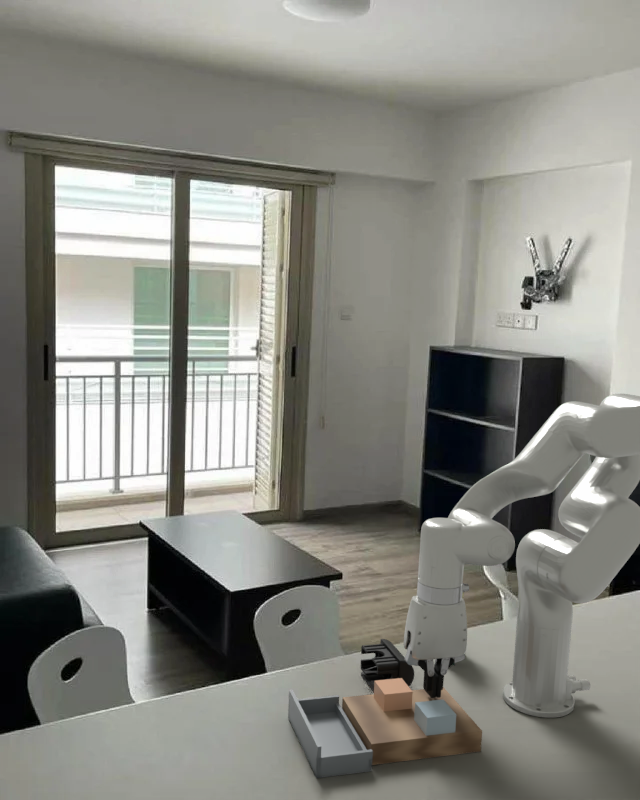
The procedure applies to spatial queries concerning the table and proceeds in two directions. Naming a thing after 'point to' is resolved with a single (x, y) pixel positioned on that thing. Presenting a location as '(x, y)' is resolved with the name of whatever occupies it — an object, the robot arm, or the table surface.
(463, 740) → the board
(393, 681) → the block terracotta
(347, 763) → the box
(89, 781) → the table surface
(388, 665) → the end cap
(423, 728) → the pale blue block
